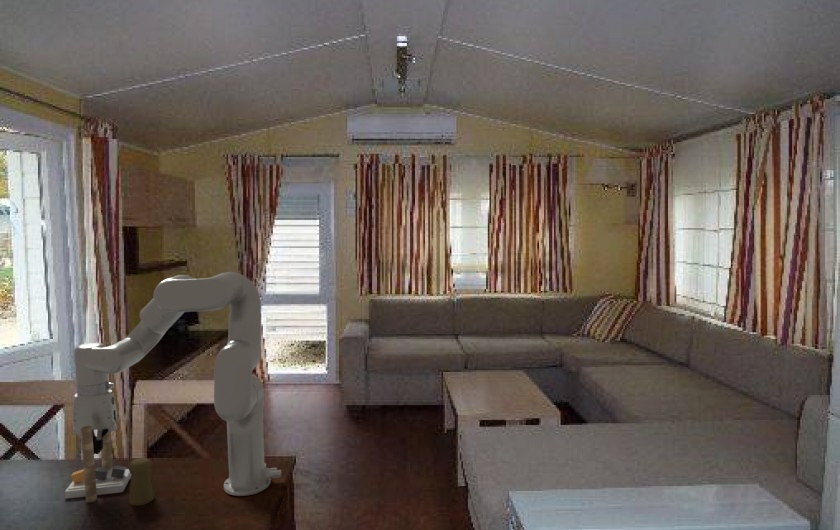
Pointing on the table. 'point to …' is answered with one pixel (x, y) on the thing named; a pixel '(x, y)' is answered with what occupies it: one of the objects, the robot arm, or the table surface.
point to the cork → (140, 482)
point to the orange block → (78, 476)
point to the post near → (88, 464)
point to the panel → (100, 486)
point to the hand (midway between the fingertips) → (96, 452)
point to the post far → (107, 452)
